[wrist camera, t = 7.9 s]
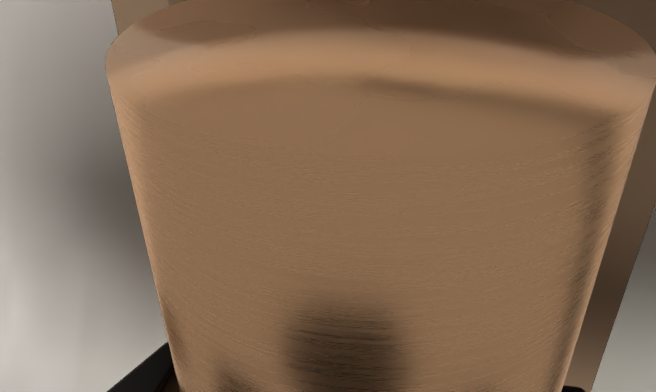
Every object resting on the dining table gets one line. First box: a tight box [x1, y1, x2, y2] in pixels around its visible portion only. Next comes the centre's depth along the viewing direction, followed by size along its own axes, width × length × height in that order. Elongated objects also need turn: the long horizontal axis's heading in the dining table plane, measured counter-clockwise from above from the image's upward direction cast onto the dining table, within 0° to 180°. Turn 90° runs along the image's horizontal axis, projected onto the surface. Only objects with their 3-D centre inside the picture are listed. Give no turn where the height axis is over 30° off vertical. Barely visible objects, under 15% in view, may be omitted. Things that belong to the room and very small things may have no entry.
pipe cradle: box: [111, 0, 656, 392], centre depth 12 cm, size 14×10×3 cm
